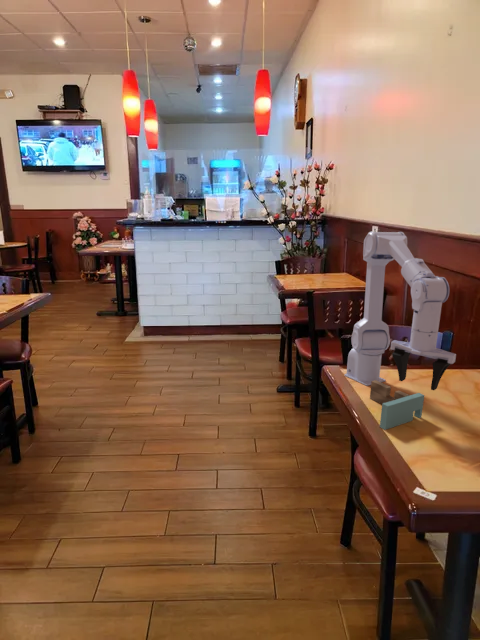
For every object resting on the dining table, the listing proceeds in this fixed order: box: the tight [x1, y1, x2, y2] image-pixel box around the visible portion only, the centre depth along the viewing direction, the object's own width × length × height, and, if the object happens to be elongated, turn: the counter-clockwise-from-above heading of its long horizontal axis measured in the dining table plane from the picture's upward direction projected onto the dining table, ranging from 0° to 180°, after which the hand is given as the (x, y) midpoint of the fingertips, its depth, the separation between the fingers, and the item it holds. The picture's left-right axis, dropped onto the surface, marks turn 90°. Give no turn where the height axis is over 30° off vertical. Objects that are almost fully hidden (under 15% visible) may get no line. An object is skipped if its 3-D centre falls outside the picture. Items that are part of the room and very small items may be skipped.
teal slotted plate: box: [379, 392, 425, 431], centre depth 110 cm, size 2×13×6 cm, turn 121°
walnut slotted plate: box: [369, 380, 410, 405], centre depth 119 cm, size 11×2×5 cm, turn 31°
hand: (417, 384), depth 109 cm, fingers open, 7 cm apart
